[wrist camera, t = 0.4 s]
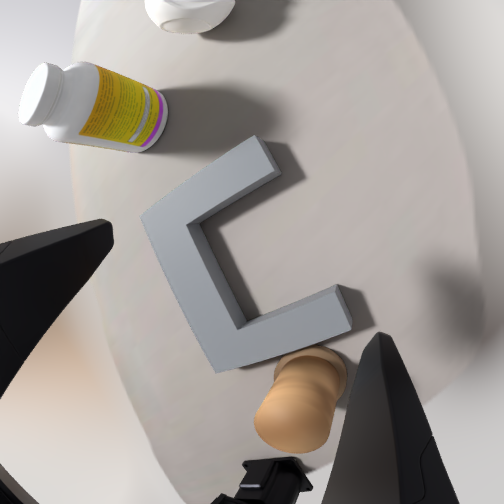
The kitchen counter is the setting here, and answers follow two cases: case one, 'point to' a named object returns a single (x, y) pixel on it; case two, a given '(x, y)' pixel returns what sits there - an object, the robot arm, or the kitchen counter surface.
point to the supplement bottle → (93, 107)
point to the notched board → (212, 278)
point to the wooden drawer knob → (302, 400)
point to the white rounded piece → (188, 14)
